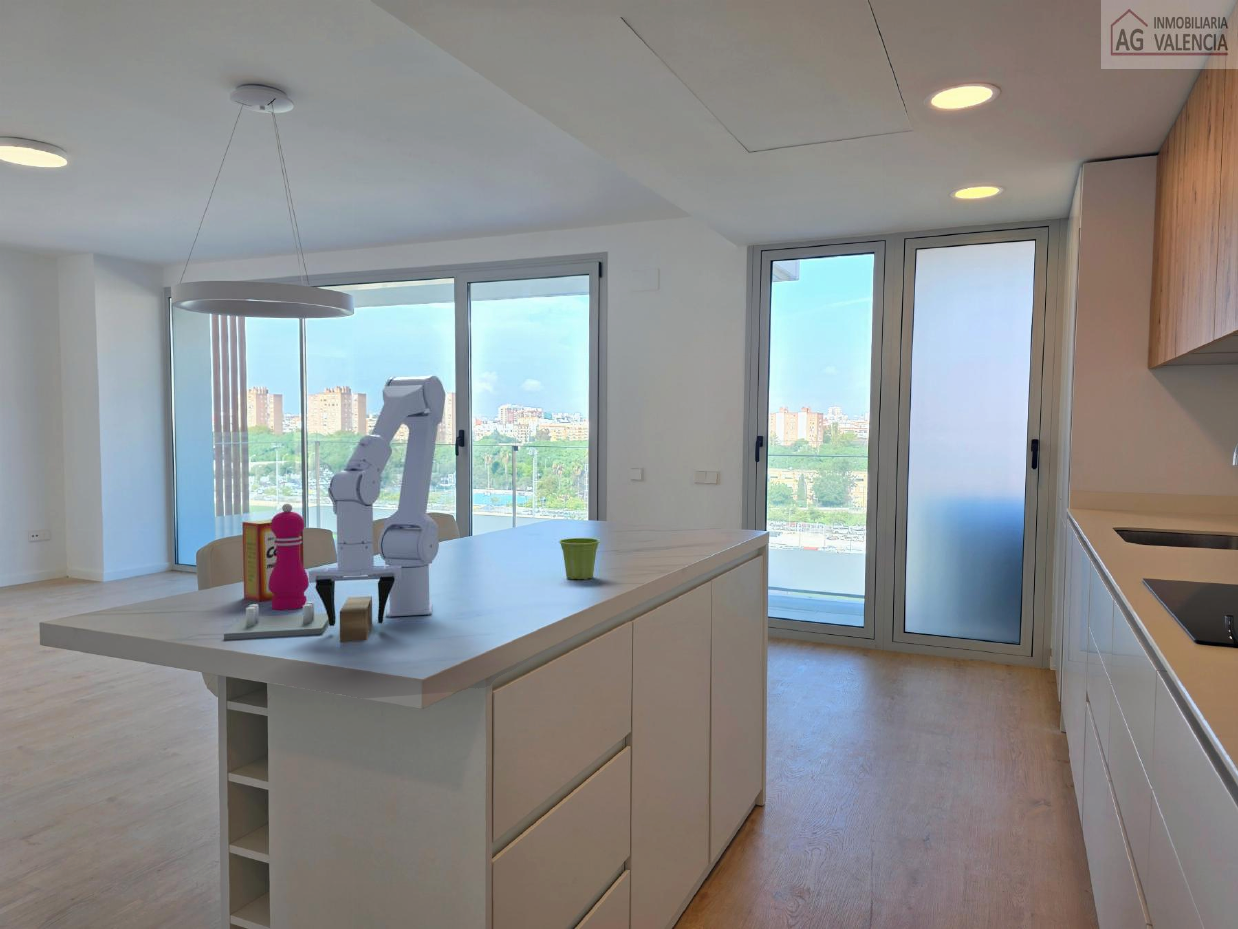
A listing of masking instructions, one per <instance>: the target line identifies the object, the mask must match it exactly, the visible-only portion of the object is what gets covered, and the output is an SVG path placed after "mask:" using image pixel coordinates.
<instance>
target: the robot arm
mask: <svg viewBox="0 0 1238 929" xmlns="http://www.w3.org/2000/svg"><path fill="white" fill-rule="evenodd" d="M382 400H383V406H382V408H381V410H380V412H379V415H378V417H377V419H376V422H375V424H374V426H373V429H372V431H371V434H368V435H364V436H362V437H361V438H360V440H359V441H358V444H357V445H356V447H355V448H354V450H353V453H352V454H351V456H350V458H349V460H348V461H347V463H346V465H345V467H344V469H343V470H339V471H337V472H336V474H333V476H332V478H331V479H330V483H329V486H328V487H327V494H328V497H329V500H331V502H332V508H333V509H332V511H333V512H334V515H336V542H337V543H336V545H337V548H336V551H337V567H327V568H314V569H313V568H312V569H309V571H308V581H309V584H311V583H313V584H314V583H315V586H314V588H315V591H316V592H317V595H318V596H319V598H320V600H321V602H322V604H323V607H324V608H325V613H327V615H328V620H329V624H328V626H330V627H334V626H335V625H336V618H337V617H336V607H335V606H336V605H335V592H336V591H335V590H336V589H335V587H336V586H335V585H336V582H340V581H341V582H342V581H364V580H368V581H369V580H378V581H377V594H378V597H377V598H378V610H377V611H378V612H377V623H378V624H383V623H384V616H386V617H405V616H421V615H422V616H423V615H431V614H432V612H433V610H432V609H433V602H432V601H430V564H433V561H435V558H436V557H437V555H438V553H439V546H440V543H439V542H440V541H439V534H438V532H439V531H438V530H439V525H438V523H436V521H435V520H434V519H433V518H432V517H431V516H429V514H427V509H428V502H429V494H430V488H431V481H432V480H431V479H432V472H433V464H434V457H435V452H436V451H435V450H436V442H437V437H438V436H437V435H438V428H439V425H440V423H442V422H443V415H444V410H445V401H446V391H445V389H444V386H443V383H442V381H441V380H440V378H439V377H438V376H437V375H428V376H408V377H402V376H400V377H397V376H391V377H390V378H388V379H387V381H386V382H385V385H384V388H382ZM402 425H405V426H406V427H407V429H408V435H407V436H408V438H407V444H406V450H405V459H404V465H403V473H402V477H401V478H402V479H401V485H400V490H399V491H400V492H399V500H398V505H397V506H398V507H397V510H396V511H395V512H393V514H391V515H390V516H388V517H387V518H386V519H385V520H384V525H383V528H382V532H381V534H380V536H379V538H378V541H377V549H378V553H379V556H380V558H381V559H382V560H383V561H384V564H385V565H374V563H375V562H374V561H375V560H374V516H373V515H374V510H373V509H374V508H373V507H374V503H375V502H376V501H377V500H378V499H379V497H380V493H381V482H382V479H383V477H382V473H383V471H384V470H385V468H386V466H387V464H388V462H389V461H390V460H389V459H390V458H391V457H392V454H393V449H392V446H391V445H390V444H391V442H392V440H393V438H394V437H395V435H397V432H398V431H399V429H400V428H401V426H402ZM388 599H389V605H388V607H387V609H386V605H387V602H388ZM385 609H386V610H387V611H386V613H385Z"/></svg>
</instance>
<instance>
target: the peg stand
mask: <svg viewBox="0 0 1238 929" xmlns="http://www.w3.org/2000/svg"><path fill="white" fill-rule="evenodd" d="M328 626H329V620H328V615H327V612H324V613H323V612H322V613H320V612H319V613H315V601H307V602H306V603H305V605H303V607H302V614H301V613H300V614H286V615H268V616H267V615H265V616H259V604H258V603H256V604H255V603H254V604H249V605H248V607H245V617H241V618H240V619H239V620H238V621H236V622H235V623H234V624H233V625H232V626H231V627H230V628H228V629H227V630H226V631H225V632H224V633H223V640H224V641H227V640H243V639H259V638H260V639H262V638H276V637H277V638H278V637H279V638H281V637H282V638H283V637H296V636H297V637H298V636H312V635H313V636H317V635H323V634H324V633H325V631H326V629H327V627H328Z"/></svg>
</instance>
